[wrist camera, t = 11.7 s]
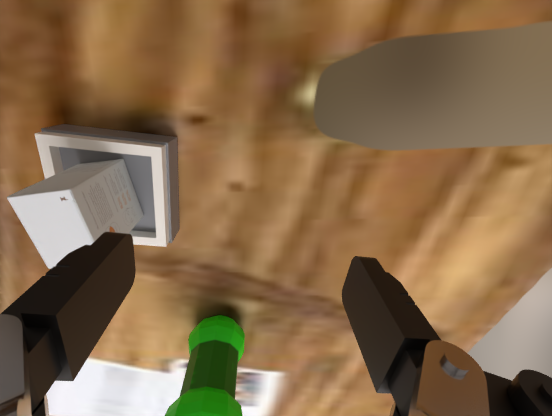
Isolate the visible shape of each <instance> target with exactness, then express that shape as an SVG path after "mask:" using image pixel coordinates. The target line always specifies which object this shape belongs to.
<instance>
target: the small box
mask: <svg viewBox="0 0 552 416" xmlns="http://www.w3.org/2000/svg"><path fill="white" fill-rule="evenodd" d="M7 199H8V201H9V202H10V204H11V206H12V207H13V209H14V211H15V213H16V214H17V216H18V218H19V219H20V221H21V223H22V224H23V226H24V228H25V229H26V231H27V233H28V235H29V236H30V238H31V240H32V241H33V243H34V245H35V247H36V248H37V250H38V252H39V253H40V255H41V257H42V258H43V260H44V262H45V264H46V265H47V267H48V268H49V269H50V268H53V267H54V266H55V267H56V264H57V263H58V262H59V261H60V260H61V259H63V258H64V257H65V256H66V255H67V254H68V253H70V252H72V251H74V250H76V249H78V248H80V247H82V246H84V245H91V244H92V243H93V242H95V241H96V240H97V239H98V238H99V237H100V236H101V235H102V234H103V233H104V232H116V233H126V234H129V232H130V231H131V230H132V229H133V228H134V227H135V225H136V224H137V223H138V222H139V221H140V219H141V218H142V217H143V216H144V215H143V212H142V209H141V207H140V204H139V201H138V198H137V196H136V193H135V190H134V187H133V184H132V182H131V179H130V176H129V173H128V171H127V168H126V165H125V162H124V159H117V160H108V161H100V162H91V163H83V164H77V165H75V166H73V167H71V168H69V169H66V170H64V171H62V172H60V173H58V174H56V175H53V176H51V177H49V178H47V179H44V180H42V181H40V182H38V183H36V184H34V185H31V186H29V187H27V188H25V189H23V190H20V191H18V192H16V193H14V194H12V195H10V196H8V197H7Z"/></svg>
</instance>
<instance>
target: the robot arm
mask: <svg viewBox="0 0 552 416" xmlns="http://www.w3.org/2000/svg"><path fill="white" fill-rule="evenodd" d="M134 278H135V259H134V247H133V238H132V235H131V234H126V233H116V232H104V233H103V234H102V235H101V236H100V237H99V238H98V239H97V240H96V241H95V242H93V243H92V244H91V245H84V246H82V247H80V248H78V249H76V250H74V251H72V252H70V253H68V254H67V255H66V256H65V257H64V258H63V259H61V260H60V261H59V262H58V263H57V264H56V267H55V266H54V267H53V268H51V269H50V270H49V271H48V272H47V273H46V275H45V276H42V277H41V278H40V279H39V280H38V281H37V282H36V283H35V284H34V285H32V286H31V287H30V288H29V289H28V290H27V291H26V292H25V293H23V294H22V295H21V296H20V297H19V298H18V299H17V300H16V301H15V302H13V303H12V304H11V305H10V306H9V307H8V308H7V309H6V310H4V311H3V312H2V313H1V314H0V416H49V411H48V400H47V396H46V393H47V392H48V390H49V389H50V387H51V386H52V384H53V383H54V381H55V380H57V381H73V380H74V379H75V377H76V376H77V374H78V372H79V371H80V369H81V368H82V366H83V364H84V363H85V361H86V360H87V358H88V356H89V355H90V353H91V352H92V350H93V348H94V347H95V345H96V344H97V342H98V340H99V339H100V337H101V336H102V334H103V332H104V331H105V329H106V328H107V326H108V324H109V323H110V321H111V320H112V318H113V316H114V315H115V313H116V311H117V310H118V308H119V307H120V305H121V303H122V302H123V300H124V299H125V297H126V295H127V294H128V292H129V291H130V289H131V287H132V285H133V282H134ZM342 302H343V305H344V308H345V311H346V313H347V316H348V319H349V321H350V324H351V326H352V329H353V332H354V334H355V337H356V340H357V342H358V345H359V348H360V350H361V353H362V355H363V358H364V361H365V363H366V366H367V369H368V371H369V374H370V377H371V379H372V382H373V384H374V387H375V390H376V392H377V393H391V394H392V396H393V398H394V401H395V402H394V404H393V405H392V408H391V412H390V416H552V378H550V377H549V376H547V375H544V374H542V373H540V372H537V371H534V370H522V371H520V373H519V374H518V375H517V376H516V377H515V378H514V379H513V381H511V380H508V379H505V378H502V377H500V376H497V375H494V374H491V373H487V372H485V371H483V370H482V369H481V367H480V366H479V365H478V363H477V362H476V361H475V360H474V359H473V358H472V357H471V356H470V355H468V354H467V353H466V352H465V351H463V350H462V349H460V348H459V347H457V346H455V345H453V344H451V343H448V342H445V341H442V340H441V339H440V338H439V336H438V335H437V333H436V332H435V331H434V329H433V328H432V326H431V325H430V324H429V322H428V321H427V319H426V318H425V316H424V315H423V314H422V312H421V311H420V309H419V308H418V307H417V305H415V302H414V301H413V300H412V298H411V297H410V296H408V292H407V291H406V290H405V288H404V287H403V285H402V284H401V283H400V282H399V281H398V280H397V279H396V278H394V277H393V276H392V275H391V274H390V273H387V272H385V271H384V269H383V268H382V266H381V265H380V263H379V262H378V260H377V259H376V258H369V257H359V256H355V257H354V258H353V259H352V261H351V264H350V267H349V270H348V273H347V277H346V280H345V283H344V286H343V289H342Z"/></svg>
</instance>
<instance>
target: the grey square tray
mask: <svg viewBox="0 0 552 416" xmlns="http://www.w3.org/2000/svg"><path fill="white" fill-rule="evenodd" d="M41 130H42V132H39V133H35V138H36V142H37V146H38V150H39V155H40V159H41V163H42V167H43V172H44V176H45V179H47V178H49V177H51V176H53V175H56V174H58V173H60V172H62V171H64V170H66V169H69V168H71V167H73V166H75V165H77V164H83V163H91V162H100V161H108V160H117V159H124V162H125V165H126V168H127V171H128V173H129V176H130V179H131V182H132V184H133V187H134V190H135V193H136V196H137V198H138V201H139V204H140V207H141V209H142V212H143V215H144V216H143V217H142V218H141V219H140V221H139V222H138V223H137V224H136V225H135V227H134V228H133V229H132V230H131V231H130V232H129V234H131V235H132V238H133V244H137V245H151V246H164V247H166V246H167V244H168V243H172V242H173V240H174V238H175V236H176V234H177V233H178V231H179V186H178V143H177V137H172V136H164V135H155V134H146V133H138V132H129V131H121V130H112V129H103V128H95V127H86V126H77V125H69V124H62V125H57V126H51V127H46V128H41Z"/></svg>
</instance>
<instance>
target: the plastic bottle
mask: <svg viewBox="0 0 552 416" xmlns="http://www.w3.org/2000/svg"><path fill="white" fill-rule="evenodd" d="M244 337H245V334H244V332H243V329H242V328H241V327H240V326H239V325H238V324H237V323H236V322H235V321H234V320H233V319H231V318H229V317H227V316H223V315H217V316H212V317H209V318H205V319H203V320H202V321H201V322H200V323H199V324H198V325H197V326H196V327H195V328H194V329H193V331H192V332H191V333H190V336H189V339H188V340H189V353H190V359H189V362H188V366H187V370H186V374H185V378H184V382H183V386H182V390H181V394H180V397H179V398H178V399H177V400H176V401H175V402H174V403H173V404H172V405H171V406H169V408H168V410H167V412H166V414H165V416H242V410H241V405H240V404H239V403H238V402H237V401H236V400H235V390H236V377H237V364H238V361H239V360H240V358H241V357H242V355H243V353H244Z"/></svg>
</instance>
